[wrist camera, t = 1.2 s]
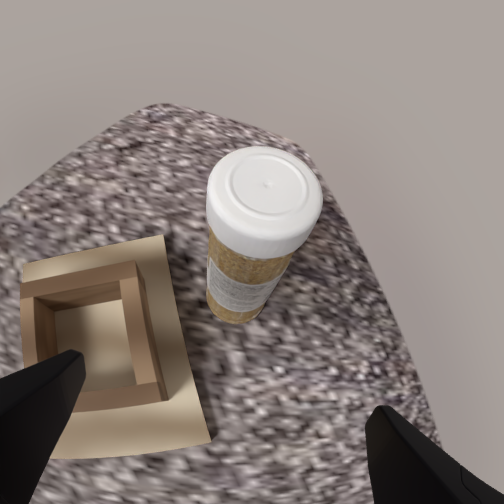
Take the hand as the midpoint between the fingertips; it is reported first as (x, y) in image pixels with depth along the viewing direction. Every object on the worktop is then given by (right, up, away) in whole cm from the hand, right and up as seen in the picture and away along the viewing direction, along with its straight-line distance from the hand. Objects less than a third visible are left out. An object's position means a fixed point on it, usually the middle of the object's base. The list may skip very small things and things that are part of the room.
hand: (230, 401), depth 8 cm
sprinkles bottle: (-1, +1, +16) cm, 16 cm away
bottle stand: (-11, -3, +12) cm, 16 cm away
